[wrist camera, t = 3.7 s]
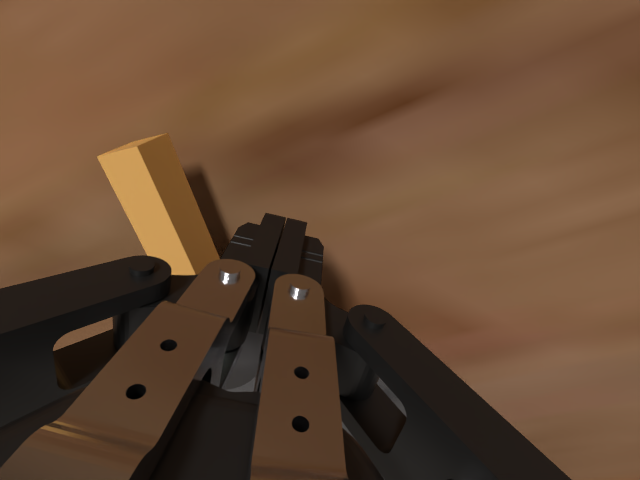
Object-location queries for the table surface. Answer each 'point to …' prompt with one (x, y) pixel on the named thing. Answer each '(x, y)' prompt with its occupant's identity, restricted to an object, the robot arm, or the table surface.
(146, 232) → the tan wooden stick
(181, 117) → the table surface
